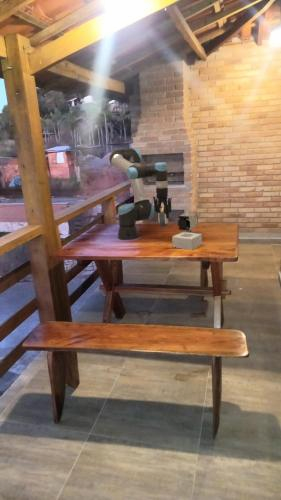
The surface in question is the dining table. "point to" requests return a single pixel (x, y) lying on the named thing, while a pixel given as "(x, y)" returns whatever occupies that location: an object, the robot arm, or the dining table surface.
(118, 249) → the dining table surface
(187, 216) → the ball valve
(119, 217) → the robot arm
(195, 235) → the block
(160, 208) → the steel pin
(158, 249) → the dining table surface
